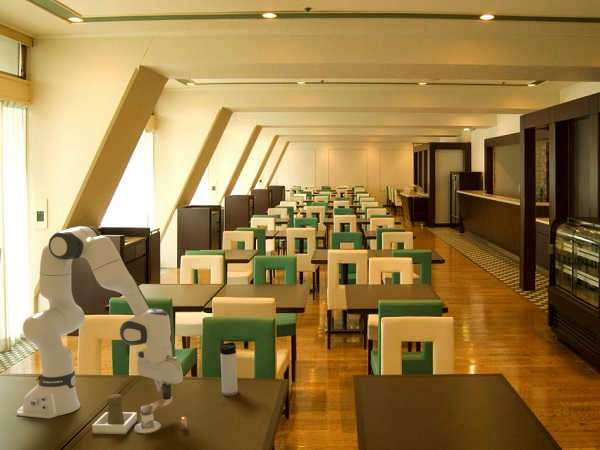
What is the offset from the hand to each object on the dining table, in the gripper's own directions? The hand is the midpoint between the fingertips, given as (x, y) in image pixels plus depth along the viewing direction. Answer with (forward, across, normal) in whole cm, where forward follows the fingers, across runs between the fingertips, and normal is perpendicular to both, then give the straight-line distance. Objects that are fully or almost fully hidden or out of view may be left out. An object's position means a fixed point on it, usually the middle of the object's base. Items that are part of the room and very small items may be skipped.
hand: (160, 391), depth 231 cm
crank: (+4, -3, +5) cm, 7 cm away
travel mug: (+10, -5, -32) cm, 34 cm away
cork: (+9, +7, +15) cm, 19 cm away
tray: (+10, +8, +15) cm, 19 cm away
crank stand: (+10, -7, +7) cm, 14 cm away
